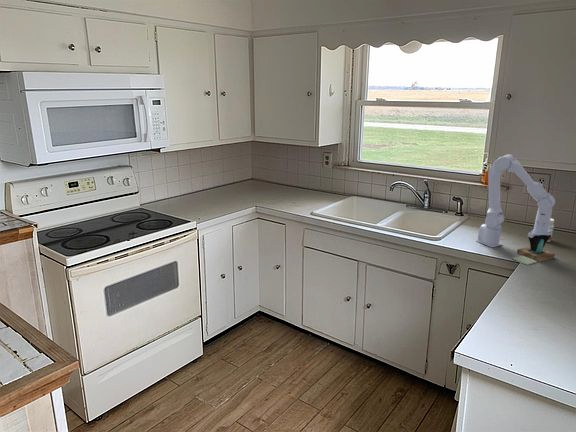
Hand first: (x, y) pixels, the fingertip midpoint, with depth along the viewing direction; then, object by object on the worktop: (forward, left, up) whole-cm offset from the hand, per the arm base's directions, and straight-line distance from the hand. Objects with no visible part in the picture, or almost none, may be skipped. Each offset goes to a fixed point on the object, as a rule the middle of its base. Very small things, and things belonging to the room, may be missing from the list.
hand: (536, 249), depth 204 cm
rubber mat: (+2, -11, -3) cm, 11 cm away
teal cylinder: (0, 0, -3) cm, 3 cm away
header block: (0, 0, -3) cm, 3 cm away
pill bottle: (-11, +23, -3) cm, 26 cm away
